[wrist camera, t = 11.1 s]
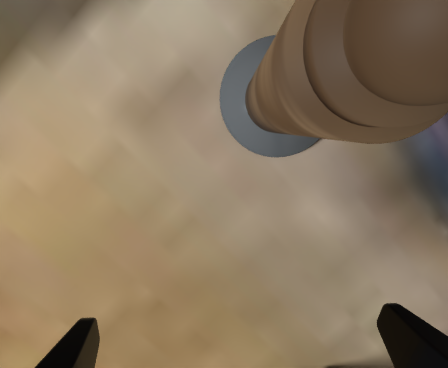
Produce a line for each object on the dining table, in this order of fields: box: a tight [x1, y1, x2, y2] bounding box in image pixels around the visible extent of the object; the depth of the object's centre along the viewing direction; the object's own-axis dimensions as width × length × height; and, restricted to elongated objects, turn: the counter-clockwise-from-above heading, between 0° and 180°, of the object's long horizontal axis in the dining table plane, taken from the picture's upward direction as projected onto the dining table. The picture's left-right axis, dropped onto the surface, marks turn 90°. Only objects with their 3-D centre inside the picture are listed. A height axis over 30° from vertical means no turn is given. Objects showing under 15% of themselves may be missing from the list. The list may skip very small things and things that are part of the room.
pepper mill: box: [245, 0, 448, 144], centre depth 12 cm, size 5×5×16 cm
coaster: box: [220, 35, 319, 157], centre depth 20 cm, size 8×8×1 cm
